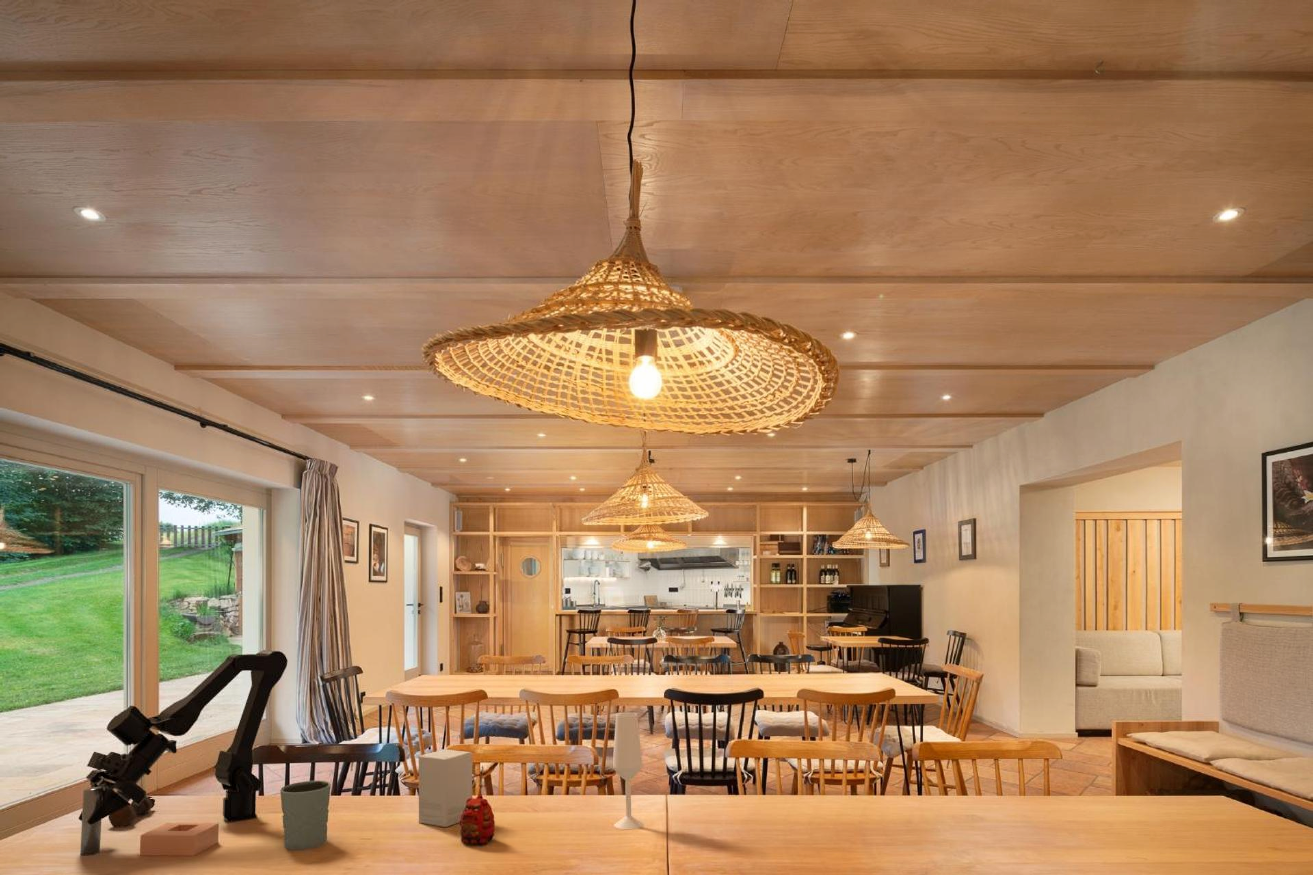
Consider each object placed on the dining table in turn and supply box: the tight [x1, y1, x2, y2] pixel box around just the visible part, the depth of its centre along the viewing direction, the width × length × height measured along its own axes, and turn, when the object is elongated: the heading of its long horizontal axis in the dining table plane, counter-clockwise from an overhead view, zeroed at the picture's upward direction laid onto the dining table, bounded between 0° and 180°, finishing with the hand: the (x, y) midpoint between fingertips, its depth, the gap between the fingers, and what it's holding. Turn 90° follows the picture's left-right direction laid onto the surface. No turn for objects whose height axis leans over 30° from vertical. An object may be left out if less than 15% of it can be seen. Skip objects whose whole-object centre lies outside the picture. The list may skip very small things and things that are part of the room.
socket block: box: [139, 822, 220, 857], centre depth 203 cm, size 9×12×4 cm
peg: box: [79, 787, 103, 856], centre depth 202 cm, size 4×4×13 cm
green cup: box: [279, 780, 332, 851], centre depth 204 cm, size 10×10×12 cm
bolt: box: [107, 795, 156, 828], centre depth 228 cm, size 6×5×15 cm
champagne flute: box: [612, 712, 645, 830], centre depth 213 cm, size 7×7×24 cm
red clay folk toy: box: [459, 765, 496, 846], centre depth 203 cm, size 8×7×15 cm
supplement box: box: [418, 748, 473, 828], centre depth 220 cm, size 9×9×15 cm
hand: (84, 821), depth 201 cm, fingers open, 4 cm apart
